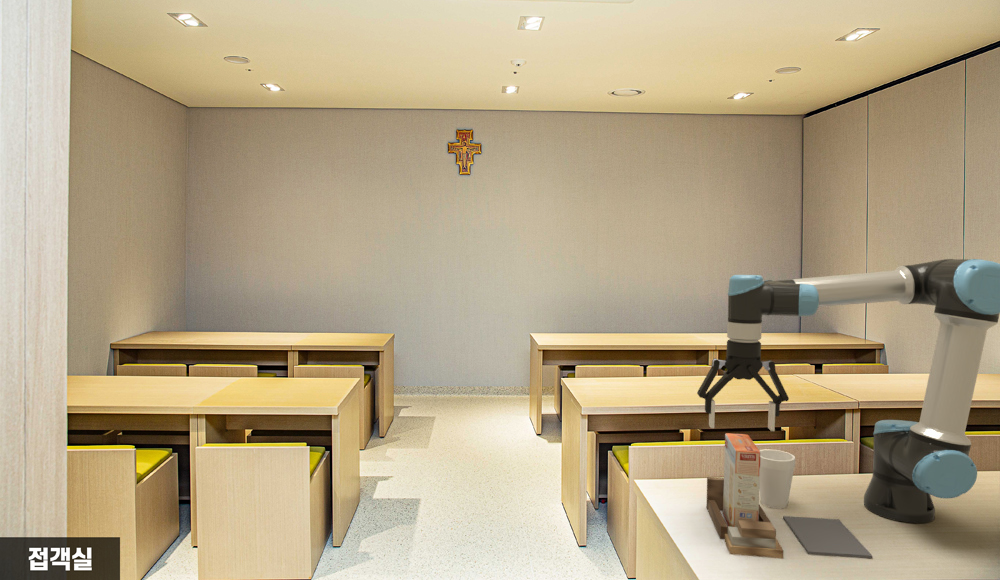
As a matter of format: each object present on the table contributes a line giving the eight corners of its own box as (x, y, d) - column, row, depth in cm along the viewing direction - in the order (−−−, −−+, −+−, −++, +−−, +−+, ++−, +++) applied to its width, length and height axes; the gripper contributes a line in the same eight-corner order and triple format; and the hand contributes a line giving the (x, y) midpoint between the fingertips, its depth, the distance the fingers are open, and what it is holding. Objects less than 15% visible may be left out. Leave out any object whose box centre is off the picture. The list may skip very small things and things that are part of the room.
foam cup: (793, 500, 161) (795, 452, 160) (794, 513, 153) (795, 463, 152) (755, 494, 165) (756, 447, 164) (753, 507, 157) (754, 458, 156)
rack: (755, 510, 155) (755, 479, 154) (775, 542, 138) (776, 508, 137) (706, 507, 157) (707, 477, 156) (720, 538, 139) (721, 505, 139)
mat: (838, 521, 148) (838, 519, 148) (872, 558, 130) (872, 555, 130) (782, 518, 150) (782, 515, 150) (808, 554, 132) (808, 551, 132)
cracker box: (759, 541, 138) (761, 451, 137) (731, 538, 140) (733, 449, 138) (747, 514, 152) (749, 433, 151) (722, 512, 153) (723, 431, 152)
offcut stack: (775, 546, 136) (776, 520, 136) (783, 559, 131) (784, 532, 130) (724, 542, 138) (725, 516, 138) (729, 555, 132) (730, 528, 132)
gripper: (794, 339, 145) (791, 426, 146) (686, 336, 149) (684, 421, 150) (805, 343, 137) (802, 435, 139) (691, 340, 141) (689, 430, 142)
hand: (741, 428), depth 144 cm, fingers open, 13 cm apart
